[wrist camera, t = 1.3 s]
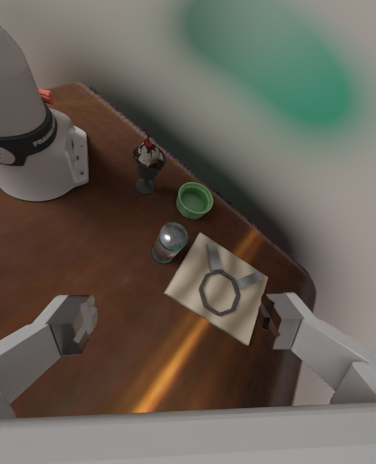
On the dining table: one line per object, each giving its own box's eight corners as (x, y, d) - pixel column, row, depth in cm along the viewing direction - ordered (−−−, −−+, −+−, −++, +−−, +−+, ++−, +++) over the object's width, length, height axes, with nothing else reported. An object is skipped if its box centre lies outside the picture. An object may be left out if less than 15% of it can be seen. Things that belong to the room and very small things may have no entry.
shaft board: (164, 293, 37) (167, 291, 34) (198, 234, 45) (203, 229, 42) (244, 344, 38) (254, 347, 35) (264, 278, 46) (273, 275, 43)
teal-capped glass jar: (152, 240, 41) (159, 220, 32) (174, 242, 43) (187, 223, 34) (151, 263, 39) (158, 248, 30) (174, 264, 40) (188, 250, 32)
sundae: (134, 172, 47) (137, 117, 33) (160, 179, 48) (173, 129, 35) (128, 193, 44) (130, 142, 31) (156, 200, 45) (169, 154, 32)
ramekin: (177, 222, 45) (182, 214, 41) (171, 191, 48) (175, 181, 44) (210, 220, 48) (217, 212, 44) (202, 191, 51) (208, 182, 47)
